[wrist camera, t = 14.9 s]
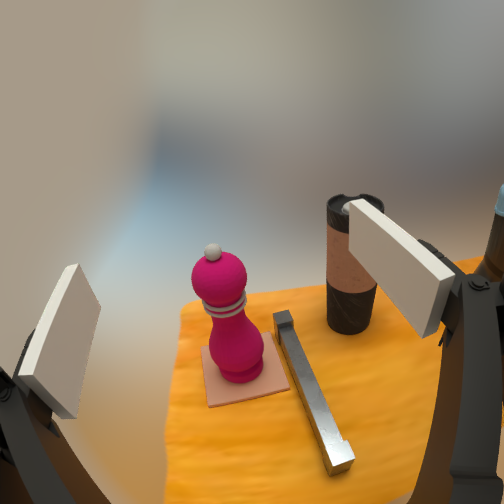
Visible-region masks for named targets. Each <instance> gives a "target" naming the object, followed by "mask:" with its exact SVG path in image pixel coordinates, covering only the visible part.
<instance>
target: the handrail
mask: <svg viewBox="0 0 504 504" xmlns="http://www.w3.org/2000/svg"><path fill="white" fill-rule="evenodd" d="M273 320H274V329H275V335H276V338H277V340H278V343H279V345H281V347H282V350H283V353H284V355H285V358H286V360H287V363H288V366H289V368H290V371H291V374H292V376H293V379H294V381H295V384H296V387H297V389H298V392H299V394H300V397H301V400H302V402H303V405H304V408H305V410H306V413H307V415H308V418H309V421H310V423H311V426H312V428H313V431H314V434H315V436H316V439H317V441H318V444H319V446H320V449H321V452H322V454H323V462H324V464H325V467H326V469H327V472H328V475H329V476H332V475H335V474H338V473H341V472H343V471H346V470H349V469H350V467H351V465H352V463H353V462H354V460H355V456H354V454H353V451H352V449H351V447H350V445H349V442H348V440H345V441H343V439H342V437H341V435H340V432H339V430H338V428H337V426H336V423H335V421H334V419H333V416H332V414H331V412H330V410H329V407H328V405H327V403H326V401H325V398H324V396H323V394H322V391H321V389H320V387H319V385H318V382H317V380H316V378H315V376H314V373H313V371H312V369H311V367H310V364H309V362H308V360H307V358H306V355H305V353H304V351H303V349H302V346H301V344H300V342H299V340H298V337H297V335H296V333H295V331H294V324H293V319H292V316H291V314H290V312H289V310H285V311H281V312H277V313H273Z"/></svg>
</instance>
